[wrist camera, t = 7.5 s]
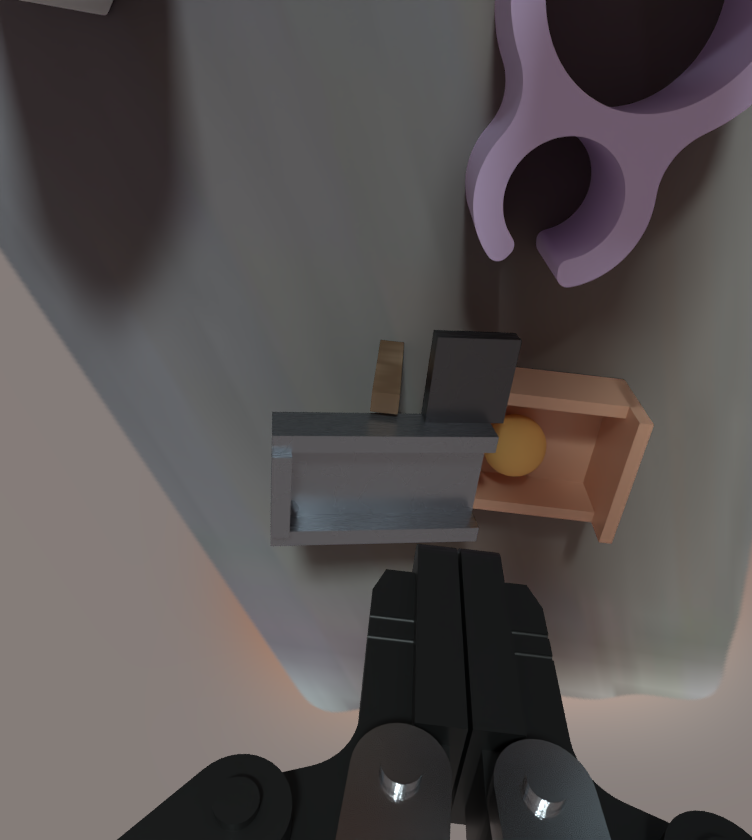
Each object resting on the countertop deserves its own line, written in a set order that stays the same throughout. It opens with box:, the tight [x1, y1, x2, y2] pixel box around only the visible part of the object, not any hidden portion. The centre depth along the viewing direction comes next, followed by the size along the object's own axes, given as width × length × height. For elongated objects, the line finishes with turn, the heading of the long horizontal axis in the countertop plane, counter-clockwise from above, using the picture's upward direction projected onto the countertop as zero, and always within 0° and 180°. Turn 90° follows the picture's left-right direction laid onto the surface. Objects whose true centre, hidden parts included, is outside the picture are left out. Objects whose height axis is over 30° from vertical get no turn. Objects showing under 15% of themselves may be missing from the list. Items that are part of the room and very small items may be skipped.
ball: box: [484, 414, 546, 476], centre depth 40 cm, size 4×4×4 cm
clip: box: [465, 0, 752, 287], centre depth 29 cm, size 20×12×7 cm, turn 161°
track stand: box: [370, 340, 404, 414], centre depth 39 cm, size 2×10×8 cm, turn 174°
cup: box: [473, 367, 654, 544], centre depth 40 cm, size 10×9×6 cm
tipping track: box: [271, 330, 522, 546], centre depth 34 cm, size 13×12×3 cm
